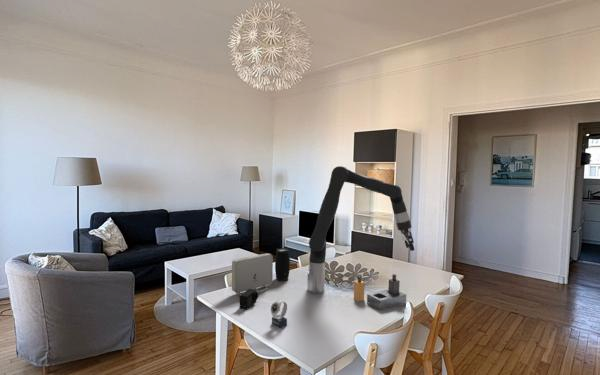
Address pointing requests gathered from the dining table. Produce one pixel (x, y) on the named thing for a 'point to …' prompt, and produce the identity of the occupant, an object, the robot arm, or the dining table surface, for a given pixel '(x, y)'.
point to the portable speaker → (282, 264)
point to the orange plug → (359, 289)
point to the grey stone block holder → (385, 299)
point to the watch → (279, 319)
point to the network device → (252, 273)
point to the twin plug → (393, 285)
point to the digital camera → (248, 298)
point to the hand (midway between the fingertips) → (410, 248)
